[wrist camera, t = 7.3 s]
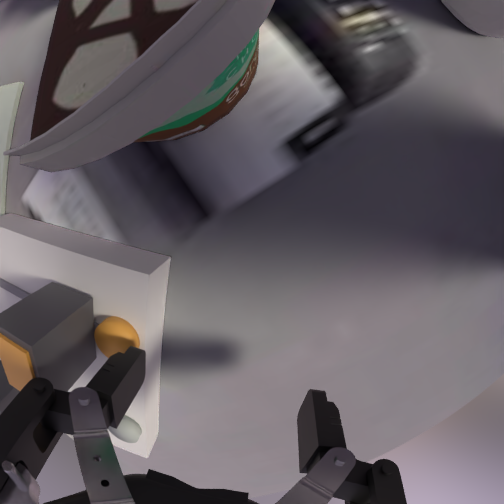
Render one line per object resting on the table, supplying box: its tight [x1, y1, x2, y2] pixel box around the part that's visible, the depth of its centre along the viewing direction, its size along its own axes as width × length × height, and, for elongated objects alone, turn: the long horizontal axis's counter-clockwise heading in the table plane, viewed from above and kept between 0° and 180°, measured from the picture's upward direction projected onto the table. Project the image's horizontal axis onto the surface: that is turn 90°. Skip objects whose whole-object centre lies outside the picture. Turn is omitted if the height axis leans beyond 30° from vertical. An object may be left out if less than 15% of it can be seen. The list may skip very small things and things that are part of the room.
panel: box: [0, 213, 171, 458], centre depth 16 cm, size 14×16×4 cm
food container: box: [3, 0, 275, 172], centre depth 8 cm, size 12×6×10 cm, turn 174°
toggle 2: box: [0, 282, 97, 392], centre depth 11 cm, size 3×4×5 cm
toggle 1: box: [0, 360, 20, 415], centre depth 13 cm, size 3×4×5 cm
